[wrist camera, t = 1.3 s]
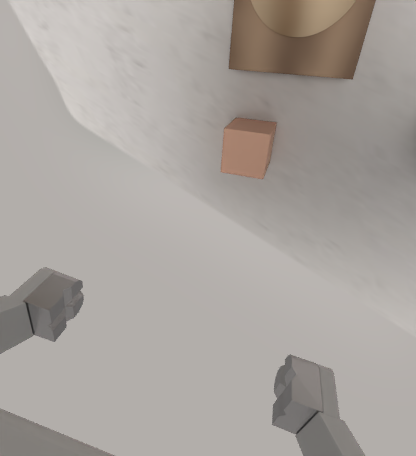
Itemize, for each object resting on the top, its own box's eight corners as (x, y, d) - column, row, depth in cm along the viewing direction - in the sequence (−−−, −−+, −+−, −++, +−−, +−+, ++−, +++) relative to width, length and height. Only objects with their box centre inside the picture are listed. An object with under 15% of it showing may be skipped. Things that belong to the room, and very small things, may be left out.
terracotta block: (276, 122, 35) (270, 134, 30) (269, 162, 37) (263, 179, 33) (236, 117, 36) (224, 128, 31) (232, 156, 39) (220, 172, 34)
